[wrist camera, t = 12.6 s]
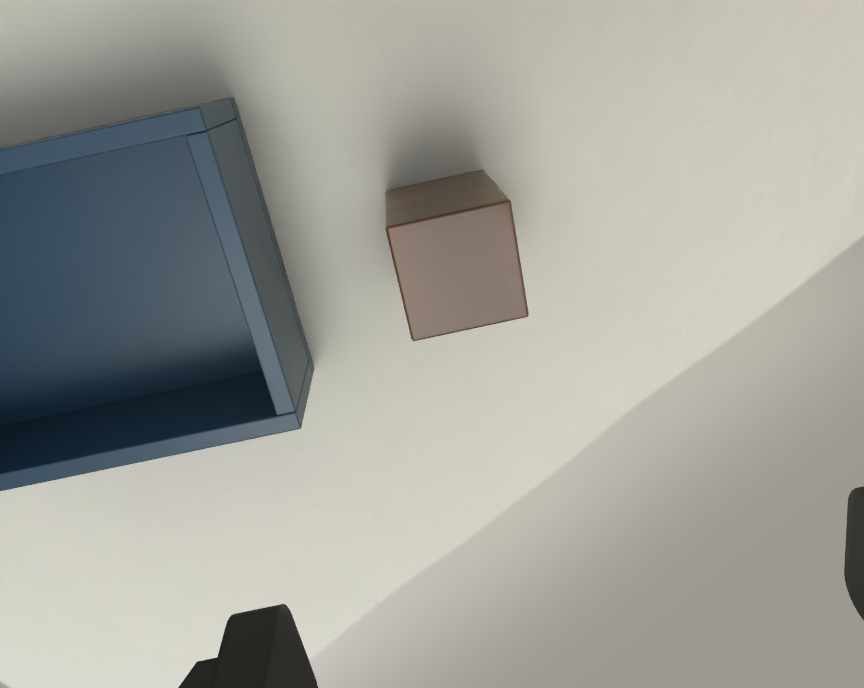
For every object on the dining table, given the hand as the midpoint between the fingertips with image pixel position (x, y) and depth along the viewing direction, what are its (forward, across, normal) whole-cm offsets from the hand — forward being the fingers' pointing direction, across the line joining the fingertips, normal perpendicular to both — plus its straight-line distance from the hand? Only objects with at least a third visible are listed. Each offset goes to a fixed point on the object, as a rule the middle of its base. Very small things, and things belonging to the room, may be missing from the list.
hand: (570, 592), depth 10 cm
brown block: (+23, 0, 0) cm, 23 cm away
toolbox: (+23, +16, -1) cm, 28 cm away
